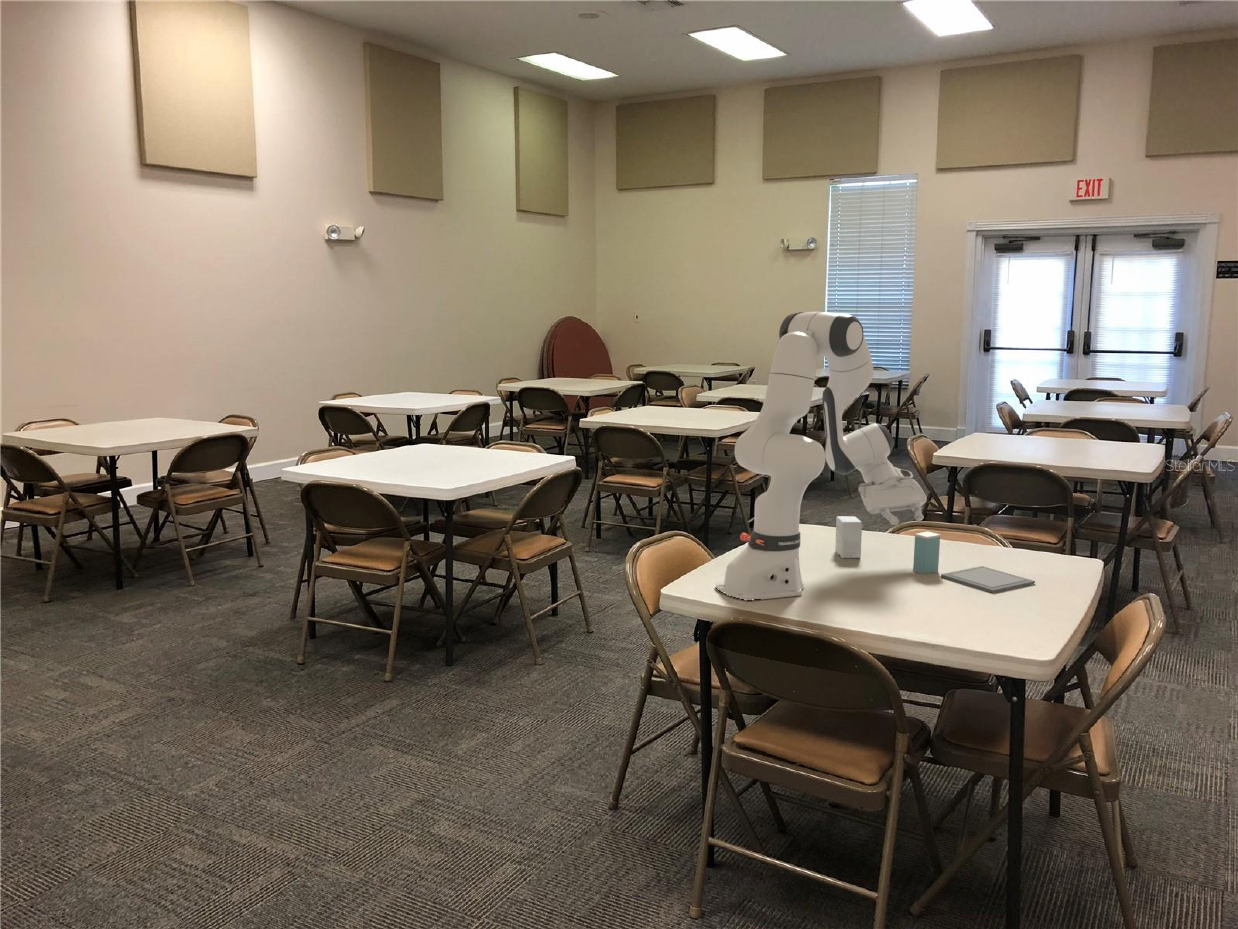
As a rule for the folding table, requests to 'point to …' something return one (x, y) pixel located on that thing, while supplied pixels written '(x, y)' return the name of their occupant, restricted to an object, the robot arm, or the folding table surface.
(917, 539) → the teal tin
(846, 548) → the small box
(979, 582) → the plate
